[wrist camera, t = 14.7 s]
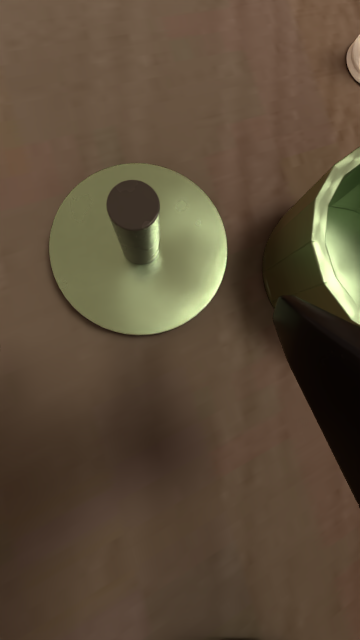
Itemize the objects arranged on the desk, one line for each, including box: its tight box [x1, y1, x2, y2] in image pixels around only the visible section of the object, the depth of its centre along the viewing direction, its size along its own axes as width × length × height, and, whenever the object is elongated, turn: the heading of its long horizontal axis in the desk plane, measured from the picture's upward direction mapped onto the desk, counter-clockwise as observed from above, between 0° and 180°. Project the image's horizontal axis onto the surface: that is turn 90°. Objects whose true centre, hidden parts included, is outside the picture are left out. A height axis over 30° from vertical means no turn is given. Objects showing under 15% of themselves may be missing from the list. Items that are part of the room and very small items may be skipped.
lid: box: [49, 163, 228, 335], centre depth 16 cm, size 12×12×7 cm
